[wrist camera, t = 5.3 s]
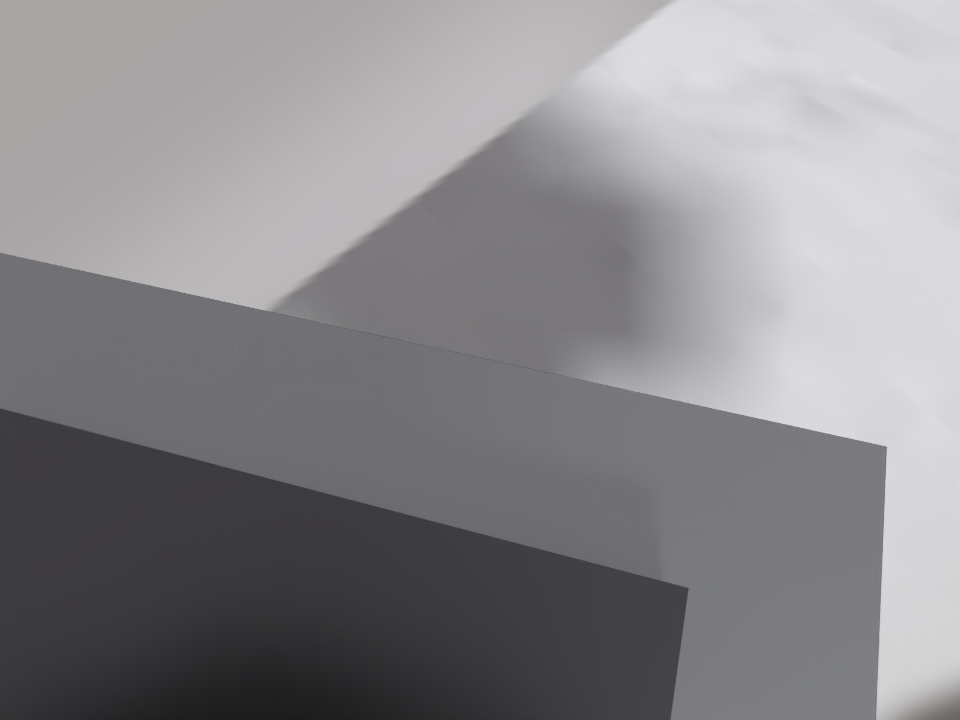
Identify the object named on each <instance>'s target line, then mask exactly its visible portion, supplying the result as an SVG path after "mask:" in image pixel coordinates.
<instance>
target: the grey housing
mask: <svg viewBox="0 0 960 720" xmlns="http://www.w3.org/2000/svg"><path fill="white" fill-rule="evenodd" d="M886 452H887V447H886V446H881V445H876V444H872V443H867V442H863V441H858V440H854V439H849V438H844V437H840V436H835V435H831V434H826V433H822V432H817V431H812V430H808V429H803V428H799V427H794V426H790V425H785V424H780V423H776V422H771V421H767V420H762V419H758V418H753V417H748V416H744V415H739V414H735V413H730V412H726V411H721V410H716V409H712V408H707V407H703V406H698V405H693V404H689V403H684V402H680V401H675V400H671V399H666V398H661V397H657V396H652V395H648V394H643V393H639V392H634V391H629V390H625V389H620V388H616V387H611V386H607V385H602V384H597V383H593V382H588V381H584V380H579V379H575V378H570V377H565V376H561V375H556V374H552V373H547V372H543V371H538V370H533V369H529V368H524V367H520V366H515V365H511V364H506V363H501V362H497V361H492V360H488V359H483V358H478V357H474V356H469V355H465V354H460V353H456V352H451V351H446V350H442V349H437V348H433V347H428V346H424V345H419V344H414V343H410V342H405V341H401V340H396V339H392V338H387V337H382V336H378V335H373V334H369V333H364V332H360V331H355V330H350V329H346V328H341V327H337V326H332V325H328V324H323V323H318V322H314V321H309V320H305V319H300V318H296V317H291V316H286V315H282V314H277V313H273V312H268V311H264V310H259V309H254V308H250V307H245V306H240V305H236V304H231V303H227V302H222V301H218V300H213V299H209V298H204V297H199V296H195V295H190V294H186V293H181V292H177V291H172V290H167V289H163V288H158V287H154V286H149V285H144V284H140V283H135V282H131V281H126V280H122V279H117V278H112V277H108V276H103V275H99V274H94V273H90V272H85V271H80V270H76V269H71V268H66V267H62V266H57V265H53V264H48V263H44V262H39V261H35V260H30V259H25V258H21V257H16V256H12V255H7V254H3V253H0V720H876V703H877V678H878V653H879V628H880V603H881V578H882V553H883V527H884V502H885V477H886Z"/></svg>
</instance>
